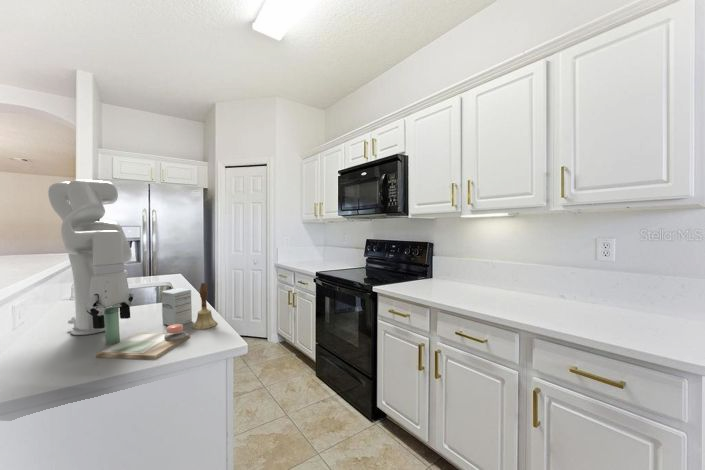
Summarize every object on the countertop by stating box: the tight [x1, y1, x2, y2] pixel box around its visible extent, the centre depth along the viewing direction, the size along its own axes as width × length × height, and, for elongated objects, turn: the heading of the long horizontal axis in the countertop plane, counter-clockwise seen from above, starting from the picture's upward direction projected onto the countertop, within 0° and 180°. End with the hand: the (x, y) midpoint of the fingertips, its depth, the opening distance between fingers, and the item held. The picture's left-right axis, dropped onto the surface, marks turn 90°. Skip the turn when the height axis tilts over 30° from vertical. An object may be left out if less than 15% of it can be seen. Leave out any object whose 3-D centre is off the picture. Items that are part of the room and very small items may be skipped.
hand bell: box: [192, 282, 218, 330], centre depth 113 cm, size 8×8×16 cm
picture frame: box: [95, 330, 191, 360], centre depth 95 cm, size 18×16×2 cm
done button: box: [166, 324, 184, 333], centre depth 99 cm, size 5×5×1 cm
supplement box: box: [161, 287, 193, 326], centre depth 116 cm, size 7×7×13 cm
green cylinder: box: [104, 306, 121, 346], centre depth 98 cm, size 4×4×11 cm
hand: (112, 323), depth 97 cm, fingers open, 9 cm apart
